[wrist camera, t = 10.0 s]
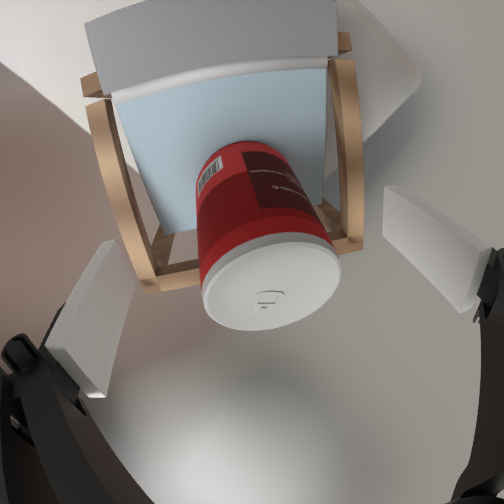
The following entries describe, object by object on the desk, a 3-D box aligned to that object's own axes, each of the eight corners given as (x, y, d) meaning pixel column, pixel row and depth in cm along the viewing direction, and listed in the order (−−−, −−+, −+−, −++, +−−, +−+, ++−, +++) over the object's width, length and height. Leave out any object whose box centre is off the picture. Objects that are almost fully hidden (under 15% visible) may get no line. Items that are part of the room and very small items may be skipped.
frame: (133, 89, 26) (80, 78, 14) (293, 59, 27) (348, 32, 14) (166, 226, 35) (145, 294, 22) (310, 197, 36) (362, 249, 23)
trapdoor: (108, 23, 13) (79, 25, 9) (304, -10, 13) (339, -15, 9) (166, 211, 27) (164, 255, 23) (309, 183, 28) (331, 221, 24)
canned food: (200, 224, 25) (211, 339, 17) (189, 142, 19) (190, 254, 11) (285, 215, 26) (326, 320, 18) (292, 134, 20) (360, 233, 12)
